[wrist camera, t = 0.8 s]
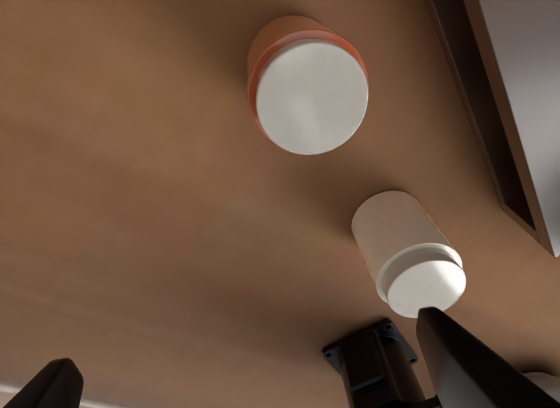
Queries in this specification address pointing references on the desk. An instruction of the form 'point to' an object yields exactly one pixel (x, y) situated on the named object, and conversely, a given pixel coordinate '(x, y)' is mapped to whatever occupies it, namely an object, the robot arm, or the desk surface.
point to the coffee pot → (546, 383)
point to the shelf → (511, 100)
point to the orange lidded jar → (305, 85)
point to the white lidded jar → (407, 254)
